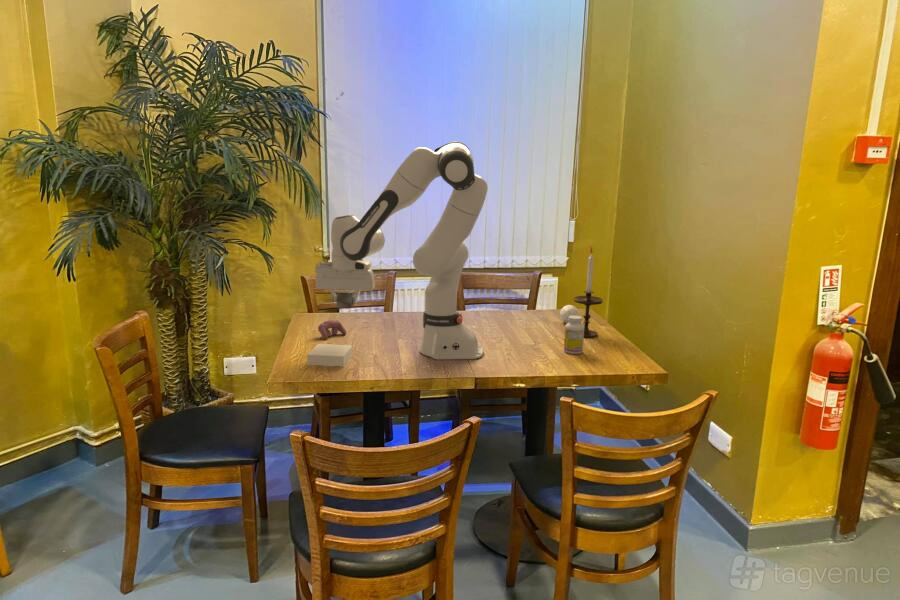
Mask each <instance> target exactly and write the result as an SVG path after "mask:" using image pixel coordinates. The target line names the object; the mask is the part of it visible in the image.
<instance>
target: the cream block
mask: <svg viewBox="0 0 900 600" xmlns="http://www.w3.org/2000/svg"><path fill="white" fill-rule="evenodd" d="M353 348H354V347H353V345H350V344H328V343H317V344H316V345H315V346H314V347H313V348H312V349H311V351H309V352H308V354H306V355H307V356H306V357H307V360H306V361H307V366H313V365H323V366H322V367H333V366H340V367H339V368H344V367H345V366H346V365H347V364H346V363H349V361H350V360H351V359H352V357H353V355H354V354H353V350H354V349H353ZM349 359H350V360H349ZM345 364H346V365H345Z"/></svg>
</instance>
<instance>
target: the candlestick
mask: <svg viewBox="0 0 900 600" xmlns="http://www.w3.org/2000/svg"><path fill="white" fill-rule="evenodd" d="M589 251H590V255H589V257H588V261H587V275H586V277H587V279H586V290H585V291H583V293H585V295H577V296H574V297H573V302H574V303H577V304H582V305H584V306H585V314H583V315H582V316H583V317H582V318H583V319H584V321H582V322H583V323H582V324H584V339H594V337H595V338H598V336H599V333H598V332H597V331H596V330H591V329H589V324H590V323H591V322H590V319H591V314H590V307H591V306H594V305H595V306H597V305H601V304H603V298H602V297H598V296H593V295H592V294H594V293H595V292H594V291H592V290H593V289H592V286H593V271H594V259H595V257H593V247H592V246H590V250H589Z"/></svg>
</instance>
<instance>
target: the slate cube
mask: <svg viewBox="0 0 900 600" xmlns="http://www.w3.org/2000/svg"><path fill="white" fill-rule="evenodd" d="M335 294H336V297H337V302H336V308H337V309H352V308H354V307H355V304H356V303H352V298H353V297H355V290H339V291H338V292H337V293H335Z"/></svg>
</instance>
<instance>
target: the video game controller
mask: <svg viewBox="0 0 900 600" xmlns="http://www.w3.org/2000/svg"><path fill="white" fill-rule="evenodd" d="M329 329H331V330H329ZM317 331H318V332H319V333H320V335H321V336H322V338H323V339H324V340H328V338H329V336H331V335H333V336H336V335H338V332H340V334H341V335H343V336H346V335H347V331H346V329H345V327H344V326H343V324H342V323H341V321H339V320H338V319H336V320H334V319H330V320H325V321H324V322H322V323H320V324H319V325H318V328H317Z"/></svg>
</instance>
